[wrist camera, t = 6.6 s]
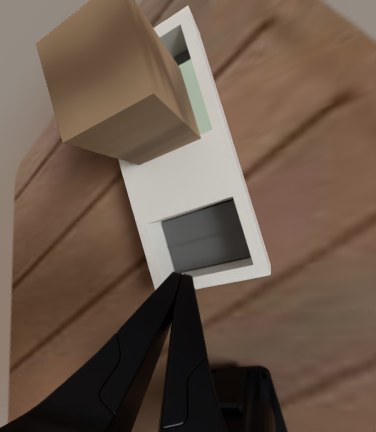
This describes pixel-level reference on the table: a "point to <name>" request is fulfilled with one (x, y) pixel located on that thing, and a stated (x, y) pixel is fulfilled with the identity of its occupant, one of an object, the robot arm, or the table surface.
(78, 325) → the table surface
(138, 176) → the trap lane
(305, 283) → the table surface
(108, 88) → the walnut block
